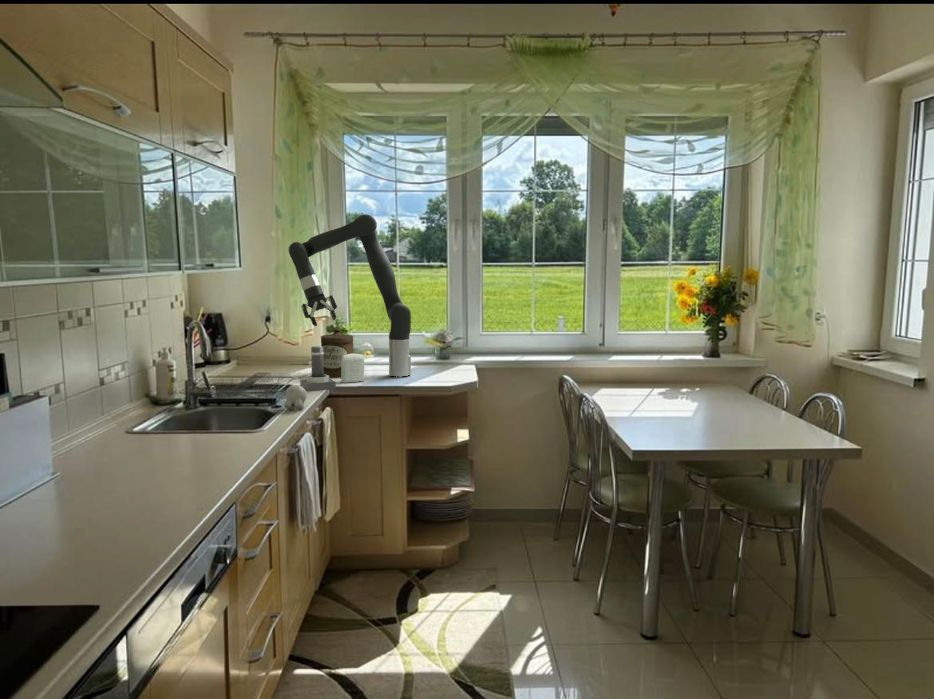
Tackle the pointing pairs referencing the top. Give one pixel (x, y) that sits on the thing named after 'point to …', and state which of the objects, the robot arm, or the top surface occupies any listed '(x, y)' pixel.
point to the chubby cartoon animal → (295, 397)
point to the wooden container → (335, 351)
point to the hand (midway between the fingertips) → (325, 322)
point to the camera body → (317, 383)
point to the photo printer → (352, 368)
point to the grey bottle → (317, 361)
